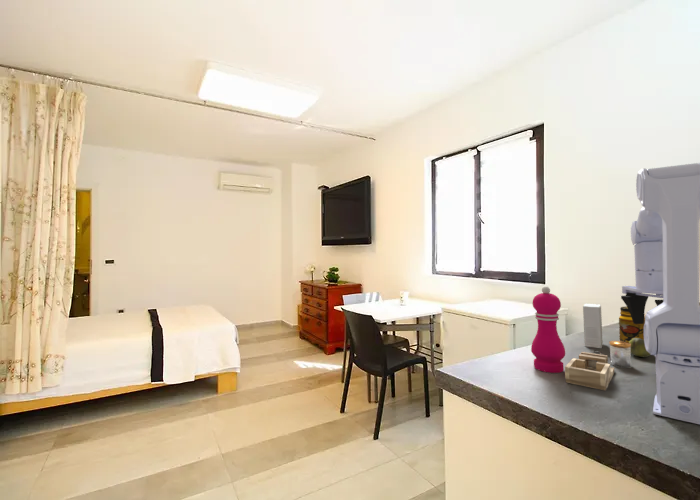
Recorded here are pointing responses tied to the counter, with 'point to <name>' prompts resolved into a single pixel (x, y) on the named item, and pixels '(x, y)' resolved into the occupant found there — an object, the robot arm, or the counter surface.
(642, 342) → the lime
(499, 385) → the counter surface
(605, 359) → the mount
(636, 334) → the condiment
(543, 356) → the pepper mill
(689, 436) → the counter surface
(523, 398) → the counter surface
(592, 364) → the lock pin
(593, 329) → the skincare box
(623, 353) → the small glass jar
